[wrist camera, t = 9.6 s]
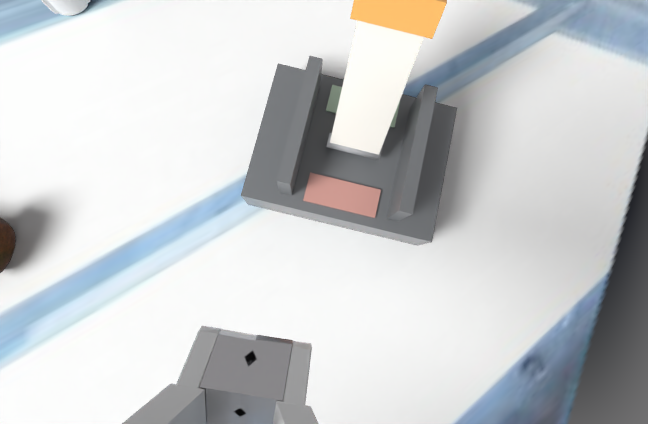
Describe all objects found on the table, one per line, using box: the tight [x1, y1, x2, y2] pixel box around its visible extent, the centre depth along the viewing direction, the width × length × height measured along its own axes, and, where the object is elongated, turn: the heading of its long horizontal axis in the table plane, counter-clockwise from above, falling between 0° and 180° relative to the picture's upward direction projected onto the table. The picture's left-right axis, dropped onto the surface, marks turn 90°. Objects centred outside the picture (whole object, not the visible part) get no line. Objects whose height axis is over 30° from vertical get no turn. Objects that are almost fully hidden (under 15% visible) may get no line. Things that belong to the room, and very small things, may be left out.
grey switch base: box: [241, 56, 457, 245], centre depth 31 cm, size 12×16×8 cm
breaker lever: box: [326, 0, 447, 160], centre depth 26 cm, size 2×5×13 cm, turn 77°
